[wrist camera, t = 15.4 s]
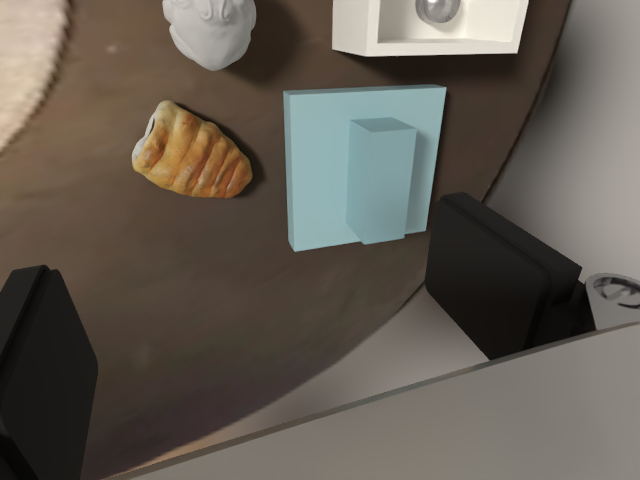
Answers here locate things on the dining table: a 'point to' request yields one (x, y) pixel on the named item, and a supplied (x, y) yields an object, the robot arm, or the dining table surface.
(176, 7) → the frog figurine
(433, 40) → the tub
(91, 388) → the robot arm
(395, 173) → the lid
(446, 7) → the glossy grey ball
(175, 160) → the pastry
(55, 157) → the dining table surface
